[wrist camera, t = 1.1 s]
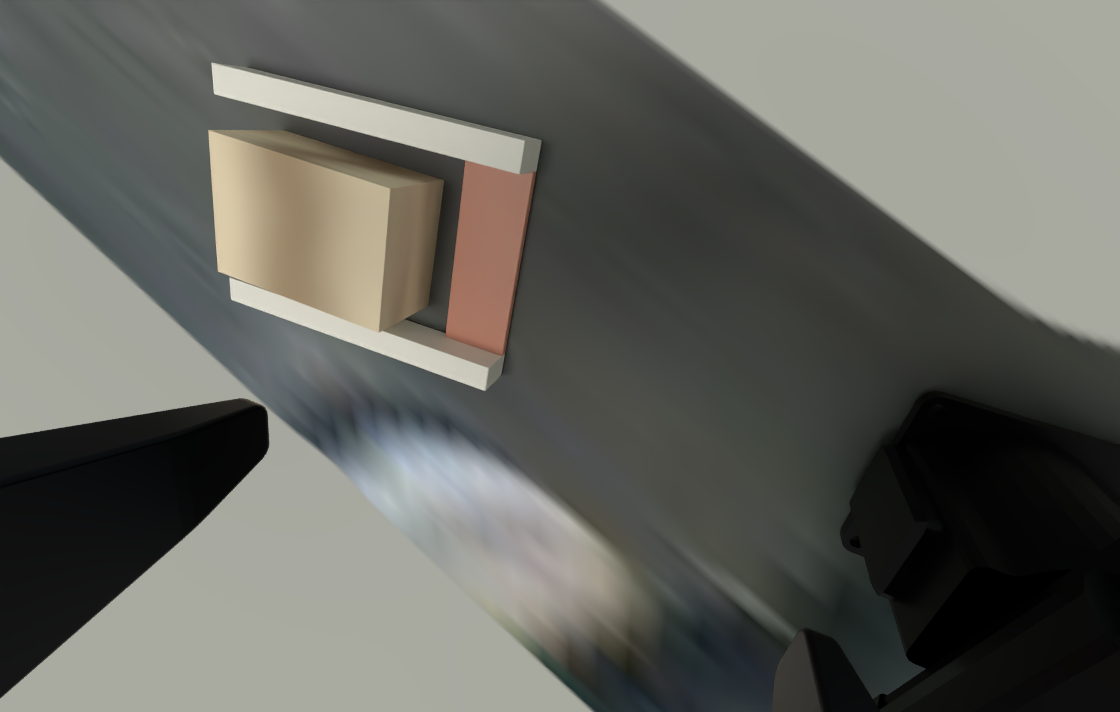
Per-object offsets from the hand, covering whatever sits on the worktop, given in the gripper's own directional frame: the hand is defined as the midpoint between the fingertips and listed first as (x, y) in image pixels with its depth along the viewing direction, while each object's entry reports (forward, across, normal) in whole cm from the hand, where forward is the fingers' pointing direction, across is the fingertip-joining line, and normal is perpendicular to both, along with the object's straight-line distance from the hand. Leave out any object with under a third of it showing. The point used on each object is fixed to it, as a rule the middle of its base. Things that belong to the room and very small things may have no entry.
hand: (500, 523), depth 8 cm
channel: (+12, +11, 0) cm, 16 cm away
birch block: (+12, +12, 0) cm, 17 cm away
